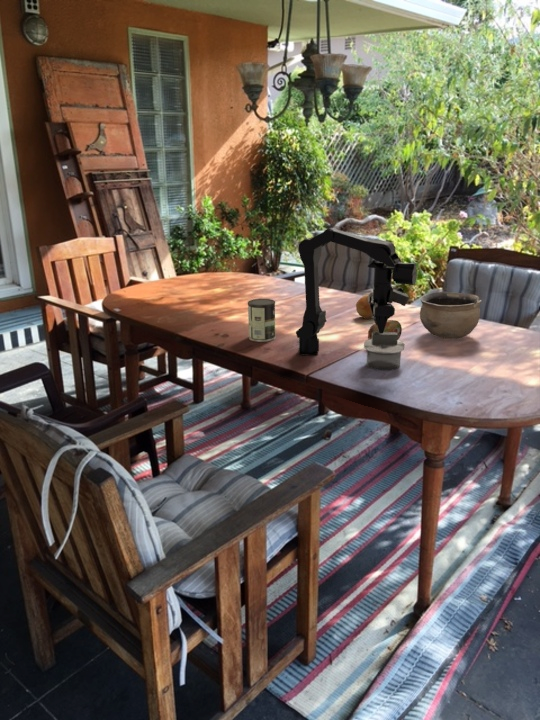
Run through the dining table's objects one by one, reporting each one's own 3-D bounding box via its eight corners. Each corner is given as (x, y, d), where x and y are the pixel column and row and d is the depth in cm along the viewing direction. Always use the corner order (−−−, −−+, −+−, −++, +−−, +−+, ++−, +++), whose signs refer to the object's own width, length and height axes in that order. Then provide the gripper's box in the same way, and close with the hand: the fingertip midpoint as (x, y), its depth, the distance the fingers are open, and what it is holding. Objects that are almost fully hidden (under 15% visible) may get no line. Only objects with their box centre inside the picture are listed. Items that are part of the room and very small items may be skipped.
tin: (372, 348, 215) (373, 326, 213) (365, 346, 218) (366, 324, 215) (401, 341, 223) (403, 319, 221) (395, 339, 226) (396, 317, 223)
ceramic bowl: (476, 347, 215) (480, 307, 210) (413, 342, 222) (416, 302, 217) (478, 330, 234) (482, 293, 229) (421, 326, 242) (424, 289, 237)
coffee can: (273, 333, 234) (272, 297, 230) (277, 341, 225) (277, 304, 220) (246, 334, 233) (245, 299, 228) (250, 342, 223) (249, 305, 219)
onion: (356, 314, 259) (357, 291, 256) (379, 315, 257) (380, 292, 254) (354, 320, 250) (355, 296, 247) (378, 321, 248) (380, 297, 245)
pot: (368, 370, 195) (369, 352, 193) (362, 354, 210) (363, 337, 208) (402, 370, 194) (404, 352, 192) (394, 354, 209) (395, 337, 207)
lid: (366, 353, 192) (367, 339, 190) (361, 341, 204) (362, 327, 202) (407, 353, 191) (408, 339, 190) (400, 341, 203) (401, 327, 202)
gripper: (413, 289, 183) (409, 338, 188) (403, 276, 201) (399, 321, 206) (376, 288, 183) (373, 337, 189) (369, 275, 201) (366, 321, 206)
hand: (379, 329), depth 197 cm, fingers open, 9 cm apart
